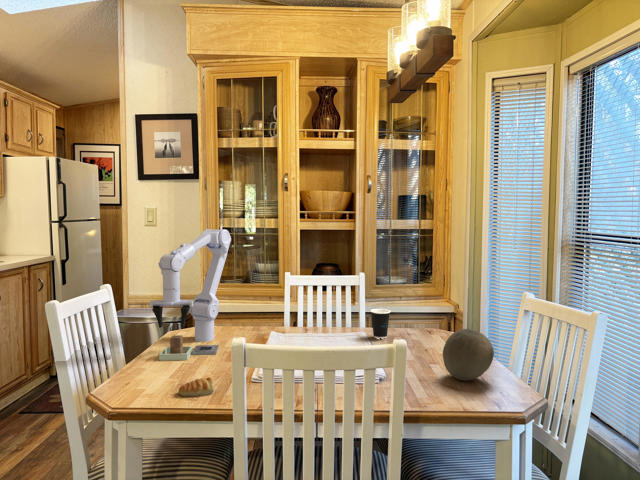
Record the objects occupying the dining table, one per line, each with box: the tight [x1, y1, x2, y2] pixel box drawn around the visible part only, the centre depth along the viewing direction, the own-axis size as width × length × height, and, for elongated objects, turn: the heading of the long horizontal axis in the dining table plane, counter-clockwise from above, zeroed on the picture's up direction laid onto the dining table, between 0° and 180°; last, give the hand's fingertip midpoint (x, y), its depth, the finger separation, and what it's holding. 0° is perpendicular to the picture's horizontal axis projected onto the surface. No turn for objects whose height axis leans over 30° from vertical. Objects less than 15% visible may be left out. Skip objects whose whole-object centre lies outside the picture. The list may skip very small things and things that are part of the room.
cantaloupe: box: [442, 328, 495, 382], centre depth 139 cm, size 14×14×15 cm
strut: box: [169, 334, 184, 354], centre depth 157 cm, size 3×3×7 cm
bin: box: [158, 345, 193, 362], centre depth 157 cm, size 9×9×3 cm
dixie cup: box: [370, 308, 391, 339], centre depth 185 cm, size 8×8×11 cm
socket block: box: [191, 344, 220, 356], centre depth 163 cm, size 8×8×2 cm
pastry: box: [177, 376, 215, 397], centre depth 128 cm, size 9×7×4 cm
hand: (171, 326), depth 164 cm, fingers open, 7 cm apart
